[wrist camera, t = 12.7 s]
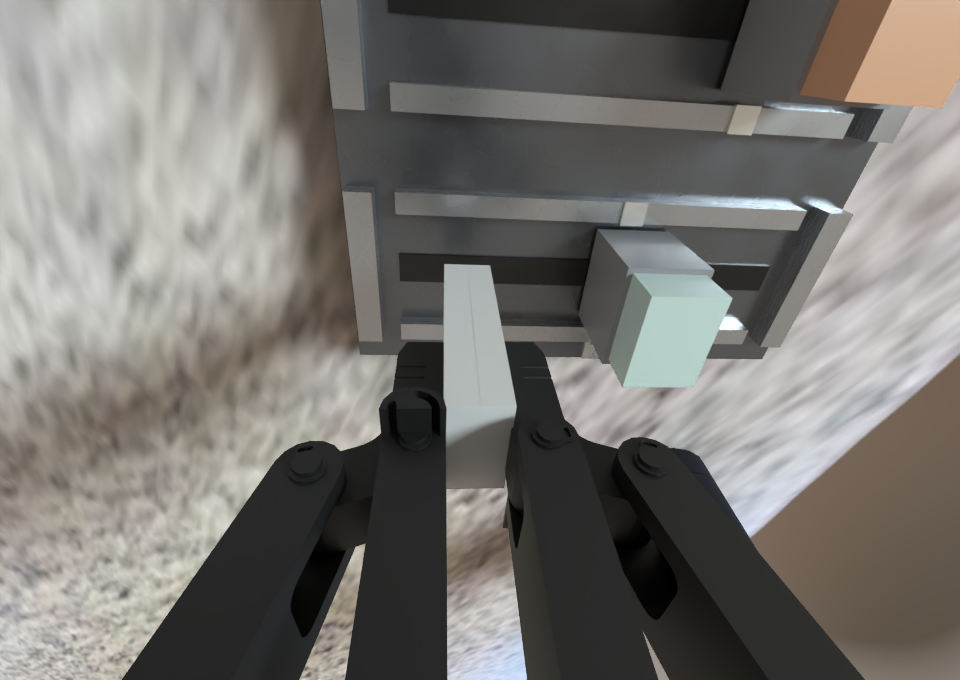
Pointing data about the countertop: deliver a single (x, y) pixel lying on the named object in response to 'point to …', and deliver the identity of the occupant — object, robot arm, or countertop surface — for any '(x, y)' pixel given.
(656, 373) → the knob
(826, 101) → the knob
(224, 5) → the countertop surface
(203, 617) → the robot arm
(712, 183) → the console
